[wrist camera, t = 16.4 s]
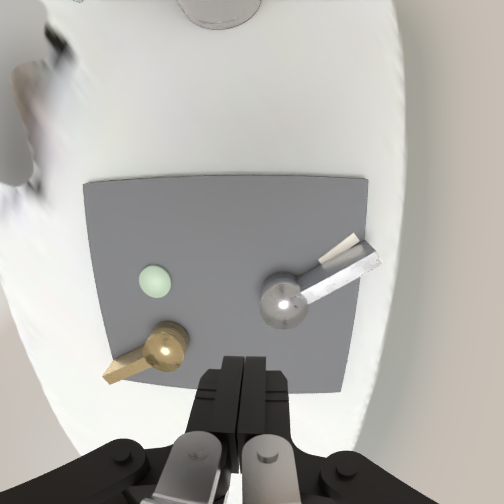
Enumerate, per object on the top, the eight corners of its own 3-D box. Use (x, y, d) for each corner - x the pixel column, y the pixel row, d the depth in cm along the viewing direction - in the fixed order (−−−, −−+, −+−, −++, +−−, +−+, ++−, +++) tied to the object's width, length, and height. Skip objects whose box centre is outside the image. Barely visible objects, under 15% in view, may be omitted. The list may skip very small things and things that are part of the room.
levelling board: (89, 182, 35) (79, 184, 33) (364, 178, 33) (370, 180, 31) (122, 373, 44) (117, 382, 42) (338, 385, 42) (341, 395, 40)
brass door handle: (173, 315, 38) (164, 332, 34) (197, 345, 39) (190, 363, 35) (106, 351, 40) (94, 367, 37) (127, 376, 42) (117, 393, 38)
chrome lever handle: (274, 318, 37) (274, 336, 33) (252, 285, 36) (250, 300, 32) (376, 264, 34) (387, 277, 30) (358, 227, 33) (369, 236, 29)
